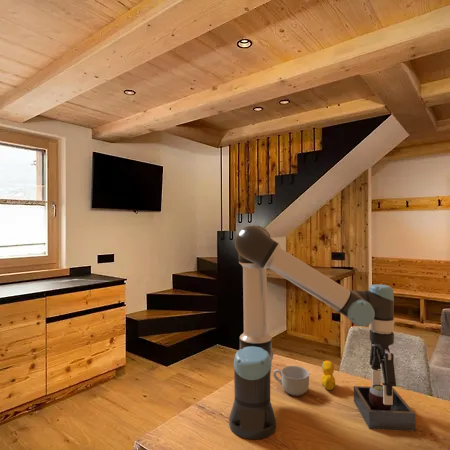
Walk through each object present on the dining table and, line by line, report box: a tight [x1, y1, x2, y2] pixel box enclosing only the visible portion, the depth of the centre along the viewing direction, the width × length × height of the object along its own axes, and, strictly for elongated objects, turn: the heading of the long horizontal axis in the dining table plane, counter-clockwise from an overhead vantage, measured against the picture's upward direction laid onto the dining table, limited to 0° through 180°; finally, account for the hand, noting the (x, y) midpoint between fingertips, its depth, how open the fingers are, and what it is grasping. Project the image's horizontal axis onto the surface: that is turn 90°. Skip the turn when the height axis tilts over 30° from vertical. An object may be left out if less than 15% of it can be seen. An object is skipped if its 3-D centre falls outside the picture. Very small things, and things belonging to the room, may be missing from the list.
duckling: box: [320, 359, 336, 391], centre depth 134 cm, size 11×5×10 cm, turn 167°
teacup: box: [272, 365, 310, 397], centre depth 132 cm, size 14×11×8 cm
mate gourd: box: [369, 384, 391, 411], centre depth 115 cm, size 8×8×15 cm
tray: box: [353, 385, 416, 432], centre depth 115 cm, size 14×17×6 cm
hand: (381, 395), depth 115 cm, fingers open, 10 cm apart
